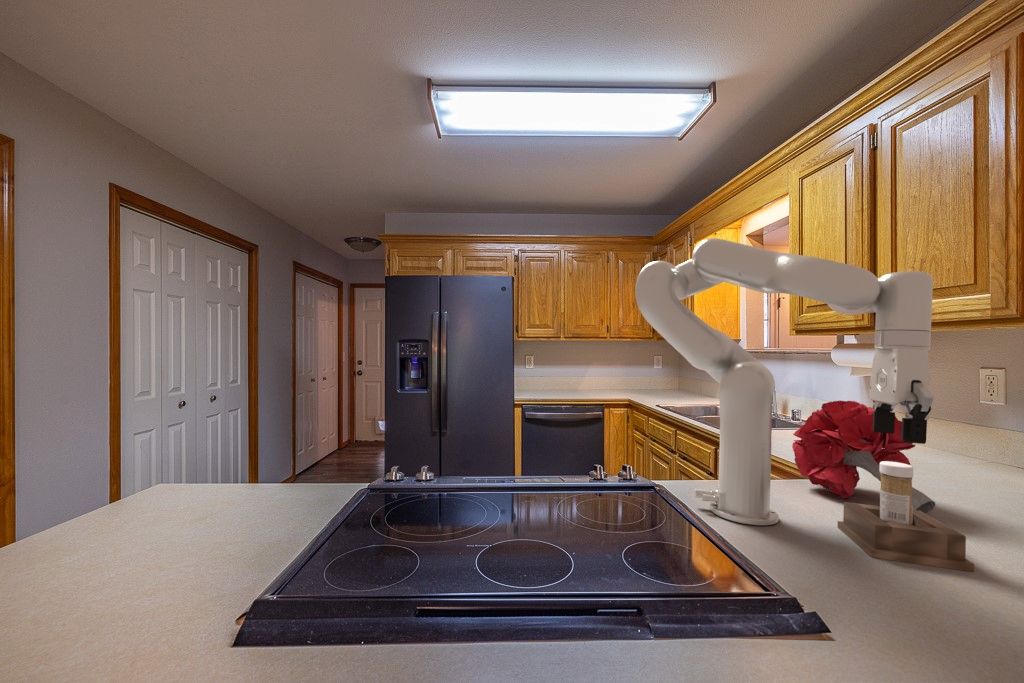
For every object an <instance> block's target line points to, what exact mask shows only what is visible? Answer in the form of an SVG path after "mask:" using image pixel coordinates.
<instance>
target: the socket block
mask: <svg viewBox="0 0 1024 683" xmlns="http://www.w3.org/2000/svg"><path fill="white" fill-rule="evenodd" d="M837 528H838V529H839V530H840V531H841V532H843V533H844V535H846V536H847V538H849V539H850V540H851V541H852V542H853V543H855V544H856V545H857V546H858V547H859V548H860V549H862V551H864V552H865V553H866V554H867V555H868V556H869V557H871V558H875V559H881V560H890V561H894V562H895V561H896V562H903V563H910V564H915V565H917V564H918V565H922V566H923V565H924V566H931V567H936V568H937V567H938V568H945V569H951V570H958V571H966V572H972V573H974V572H975V564H974V563H973V562H971V561H970V560H968V559H966V556H967V555H966V554H967V553H966V549H967V548H966V546H967V536H966V535H965V534H963V533H961V532H959V531H958V530H955V529H953V528H952V527H950V526H948V525H947V524H945V523H943V522H941V521H939V520H938V519H936V518H934V517H933V516H930V515H929V514H925V513H923V512H922V511H918V510H913V518H912V525H906V524H898V523H890V522H884V521H883V520H881V519H880V505H874V504H873V505H872V504H866V503H865V504H864V503H855V502H847V501H843V520H841V521H840V520H838V521H837Z"/></svg>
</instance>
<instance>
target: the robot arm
mask: <svg viewBox="0 0 1024 683" xmlns="http://www.w3.org/2000/svg"><path fill="white" fill-rule="evenodd" d="M933 281H934V279H933V277H932V275H931V274H930V273H928V272H926V271H925V272H924V271H917V270H915V271H914V270H913V271H912V270H911V271H909V270H907V271H896V272H889V273H886V274H883V275H882V276H880V277H877V276H876V275H875V274H874V273H873V272H871V271H870V270H867V269H866V268H863V267H860V266H856V265H853V264H848V263H843V262H839V261H834V260H830V259H826V258H820V257H816V256H809V255H800V254H793V253H790V252H788V253H787V252H778V251H775V250H770V249H765V248H760V247H755V246H752V245H748V244H744V243H740V242H735V241H731V240H728V239H727V240H726V239H722V238H717V237H715V238H714V237H713V238H711V237H710V238H707V239H703V240H701V241H700V242H699V243H697V245H696V246H695V248H694V249H693V251H692V255H691V259H689V260H687V261H685V262H683V263H680V264H678V265H674V264H673V263H671V262H669V261H664V260H656V261H652V262H648V263H647V264H646V265H645V266H644V267H642V269H641V270H640V272H639V274H638V275H637V278H636V281H635V282H636V283H635V289H634V290H635V291H634V294H635V302H636V305H637V307H638V309H639V312H640V314H641V315H642V317H643V318H644V319H645V321H646V322H647V323H648V324H649V325H650V326H651V327H652V328H653V329H654V330H655V331H656V332H657V333H658V335H660V336H661V337H662V338H663V339H664V340H666V342H667V343H668V344H669V345H670V346H672V348H674V350H676V351H677V352H678V353H679V354H680V355H681V356H682V357H683V358H684V359H685V360H686V361H687V362H688V363H689V364H690V365H691V366H692V367H694V368H695V369H698V370H701V371H705V372H706V373H707V374H708V375H709V376H710V377H711V378H712V379H713V380H715V381H716V382H717V383H718V384H719V388H718V390H719V392H718V395H719V455H718V456H719V457H718V459H719V460H718V461H719V462H718V485H714V488H710V490H707V489H703V488H694V496H693V497H694V498H696V499H701V501H703V502H710V503H709V509H710V511H711V512H712V514H714V515H715V516H718V517H720V518H723V519H725V520H728V521H732V522H736V523H740V524H745V525H752V526H772V525H775V524H777V523H778V522H779V514H778V512H776V511H775V510H774V509H772V508H771V481H772V480H771V475H772V472H771V471H772V434H773V433H772V431H773V430H772V425H773V394H774V391H775V387H776V384H775V378H774V376H773V373H772V372H771V370H770V369H769V368H768V367H767V366H765V365H764V364H763V363H762V362H760V361H759V360H758V359H757V358H755V357H754V356H753V355H752V354H750V353H749V351H747V350H746V349H745V348H743V347H742V345H740V344H739V343H738V342H736V341H735V340H734V339H732V338H731V337H730V336H729V335H727V334H726V333H725V332H722V331H721V330H719V329H715V328H713V327H712V326H710V325H709V324H708V323H707V322H705V321H704V320H703V319H702V318H700V317H699V316H698V315H696V313H694V312H693V311H692V310H691V309H690V308H688V306H687V305H685V304H684V303H683V302H681V301H682V300H685V299H689V298H690V297H692V296H695V295H697V294H699V293H702V292H704V291H706V290H709V289H712V288H713V287H715V286H718V285H720V284H722V283H727V284H731V285H735V286H738V287H741V288H745V289H748V290H751V291H755V292H759V293H763V294H764V293H765V294H786V295H793V296H798V297H802V298H807V299H809V300H813V301H817V302H821V303H824V304H826V305H827V306H828V307H829V308H830V309H831V310H832V311H833V312H836V313H838V314H841V315H846V316H847V315H860V314H862V315H863V314H873V313H875V323H874V324H875V325H874V326H875V327H874V328H875V329H874V330H875V331H874V345H873V346H874V347H873V348H874V350H875V351H874V354H873V358H872V366H871V371H870V372H871V373H870V381H869V382H870V383H869V391H868V396H869V399H870V400H871V401H872V402H873V404H872V408H873V410H874V412H873V431H874V432H878V433H889V434H893V433H894V428H895V416H896V412H893V410H894V409H895V407H896V406H898V405H899V404H900V407H901V409H902V412H903V415H904V417H901V422H902V433H901V440H902V441H903V442H909V443H913V444H918V445H919V444H922V445H924V444H926V443H927V431H928V429H927V428H928V421H929V419H930V414H929V413H930V412H931V410H932V405H933V404H932V403H933V402H934V399H935V396H934V394H933V393H932V392H931V391H930V388H931V385H930V384H931V383H930V382H931V380H930V378H931V377H930V361H929V360H930V359H929V354H928V351H929V352H931V337H932V336H931V335H932V332H931V331H932V316H933V315H932V313H933V293H934V292H933V291H934V290H933V289H934V287H933V286H934V282H933Z"/></svg>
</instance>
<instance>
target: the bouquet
mask: <svg viewBox="0 0 1024 683" xmlns="http://www.w3.org/2000/svg"><path fill="white" fill-rule="evenodd" d="M873 412H874V410H873V407H870V406H867V405H866V404H863V403H860V402H857V401H855V400H846V401H845V400H834V401H829V402H825V403H822V405H821V409H816V410H815V411H813V412H812V413H811V415H809V416H808V417H807V418H806V420H805V423H804V424H803V425H801V426H799V429H797V430H795V431H794V433H792V435H793V436H794V437H797V438H799V439H793V442H792V445H791V446H792V451H793V453H794V462H795V465H796V466H797V470H798V472H799V474H800V475H801V476H802V477H805V478H808V480H809V481H810V483H811V484H812V485H815V486H820V487H822V488H824V489H826V490H829V491H830V492H832V493H833V494H836V495H839V496H840V497H841V498H844V499H850V498H851V496H853V495H854V491H855V490H854V489H855V488H857V485H858V483H859V481H860V479H861V478H860V473H859V471H858V468H861V469H863V470H865V471H866V472H868V473H869V474H870V475H872V476H873V477H874V478H876V479H877V480H878V481H879V482H880V483H881V475H880V473H881V472H880V471H879V468H880V462H882V461H890V462H898V463H904V464H908V465H911V466H912V464H911V462H910V460H909V458H908V457H907V455H905V454H904V453H903V452H901V451H908V450H911V449H913V448H915V447H916V446H917V445H916V444H915V443H909V442H903V441H902V440H901V433H902V420H898V418H897V416H896V415H895V428H894V433H893V434H889V433H878V432H874V431H873ZM912 507H913V510H918V511H922V512H923V513H925V514H927V515H929V513H930V512H931V511H932V510H934V508H935V507H936V502H935V501H934V500H932V499H931V498H930V497H929V496H928V495H927V494H925V492H924V493H923V492H922V491H920V490H919V489H917V488H915V487H913V486H912Z"/></svg>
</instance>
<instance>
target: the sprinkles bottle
mask: <svg viewBox="0 0 1024 683" xmlns="http://www.w3.org/2000/svg"><path fill="white" fill-rule="evenodd" d="M879 471H880V472H881V473H880V475H881V482H880V489H879V491H880V492H879V506H880V519H881V520H883V521H884V522H890V523H898V524H906V525H912V518H913V507H912V487H913V480H914V479H913V478H914V467H913V466H912V464H911V465H908V464H904V463H898V462H890V461H882V462H880V468H879Z"/></svg>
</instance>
